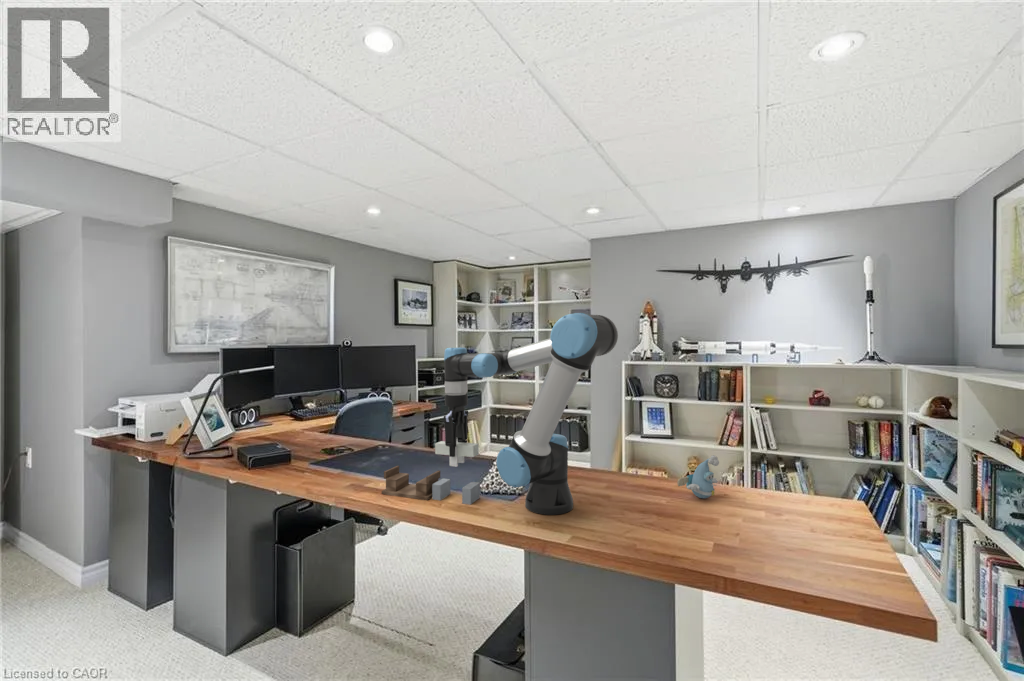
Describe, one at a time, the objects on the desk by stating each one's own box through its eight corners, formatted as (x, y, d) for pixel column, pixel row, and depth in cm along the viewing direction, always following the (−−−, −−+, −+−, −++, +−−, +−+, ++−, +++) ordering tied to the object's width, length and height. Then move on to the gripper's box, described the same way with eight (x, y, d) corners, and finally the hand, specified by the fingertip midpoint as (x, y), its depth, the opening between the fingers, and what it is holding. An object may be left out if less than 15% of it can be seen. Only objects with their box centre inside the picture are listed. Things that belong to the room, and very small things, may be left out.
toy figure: (705, 508, 147) (705, 460, 147) (675, 499, 155) (675, 454, 155) (730, 496, 158) (730, 452, 158) (701, 488, 166) (701, 446, 166)
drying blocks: (479, 497, 156) (479, 482, 156) (470, 504, 150) (470, 489, 150) (442, 492, 161) (442, 478, 161) (432, 499, 155) (432, 484, 155)
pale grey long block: (478, 454, 155) (478, 443, 155) (473, 457, 151) (473, 446, 151) (441, 451, 160) (441, 441, 160) (435, 454, 156) (435, 443, 156)
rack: (442, 491, 163) (442, 469, 163) (427, 500, 154) (427, 477, 154) (398, 485, 169) (398, 464, 169) (381, 493, 160) (381, 472, 160)
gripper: (457, 391, 165) (458, 457, 165) (433, 396, 149) (434, 469, 149) (477, 391, 162) (478, 459, 162) (454, 397, 146) (455, 471, 146)
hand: (457, 464), depth 155 cm, fingers closed on pale grey long block, 4 cm apart
